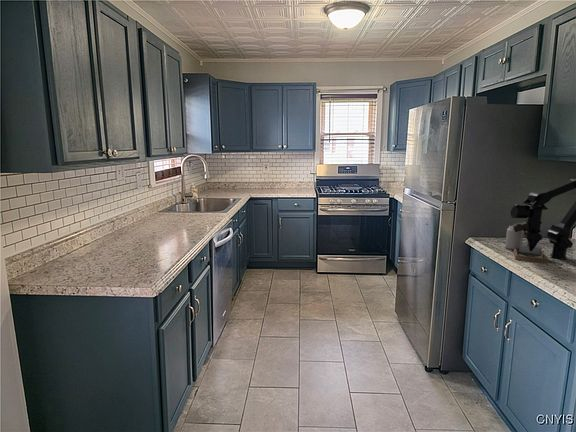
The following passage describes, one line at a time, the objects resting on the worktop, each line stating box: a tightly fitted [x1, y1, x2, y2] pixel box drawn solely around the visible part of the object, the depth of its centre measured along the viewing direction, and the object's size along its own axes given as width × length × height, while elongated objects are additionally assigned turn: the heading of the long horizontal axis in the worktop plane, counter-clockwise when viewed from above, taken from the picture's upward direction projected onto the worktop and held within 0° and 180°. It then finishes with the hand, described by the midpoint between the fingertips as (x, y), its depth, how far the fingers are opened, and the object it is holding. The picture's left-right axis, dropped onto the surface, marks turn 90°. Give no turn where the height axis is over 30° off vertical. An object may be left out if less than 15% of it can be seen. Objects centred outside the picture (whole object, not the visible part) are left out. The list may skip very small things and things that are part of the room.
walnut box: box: [513, 248, 548, 264], centre depth 182 cm, size 15×13×2 cm
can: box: [504, 225, 524, 251], centre depth 196 cm, size 8×8×12 cm
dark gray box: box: [519, 242, 543, 256], centre depth 182 cm, size 5×9×4 cm, turn 56°
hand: (530, 249), depth 182 cm, fingers closed on dark gray box, 5 cm apart
